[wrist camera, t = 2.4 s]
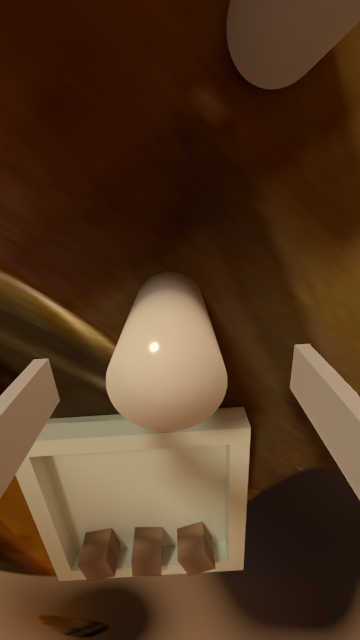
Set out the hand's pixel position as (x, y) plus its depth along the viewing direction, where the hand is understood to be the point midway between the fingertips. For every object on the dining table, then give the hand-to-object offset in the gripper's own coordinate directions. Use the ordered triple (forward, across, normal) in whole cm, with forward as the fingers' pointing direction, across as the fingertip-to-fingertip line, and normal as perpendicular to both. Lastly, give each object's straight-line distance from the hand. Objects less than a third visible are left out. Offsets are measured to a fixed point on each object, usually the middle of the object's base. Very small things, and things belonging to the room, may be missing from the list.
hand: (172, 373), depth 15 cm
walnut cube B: (+10, -5, -31) cm, 33 cm away
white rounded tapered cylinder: (+11, 0, 0) cm, 11 cm away
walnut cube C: (+10, +1, -31) cm, 33 cm away
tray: (+11, -5, -24) cm, 27 cm away
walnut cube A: (+10, -11, -31) cm, 35 cm away
